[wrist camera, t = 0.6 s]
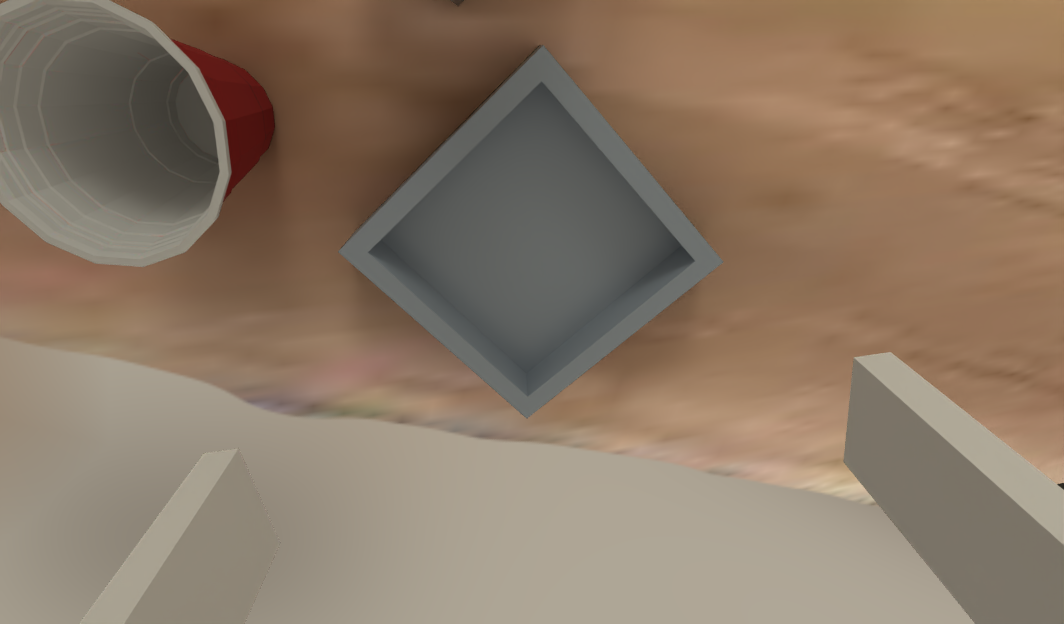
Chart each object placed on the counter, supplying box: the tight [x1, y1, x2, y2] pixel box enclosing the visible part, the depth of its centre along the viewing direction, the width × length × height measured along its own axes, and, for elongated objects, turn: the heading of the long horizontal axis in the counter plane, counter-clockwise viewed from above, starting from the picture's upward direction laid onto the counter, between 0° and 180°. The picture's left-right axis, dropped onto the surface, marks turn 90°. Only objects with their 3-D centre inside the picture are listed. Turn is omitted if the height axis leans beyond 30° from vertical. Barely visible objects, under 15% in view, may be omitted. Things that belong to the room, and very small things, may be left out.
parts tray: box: [338, 45, 723, 418], centre depth 36 cm, size 16×16×4 cm
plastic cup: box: [0, 0, 275, 267], centre depth 29 cm, size 11×11×12 cm
